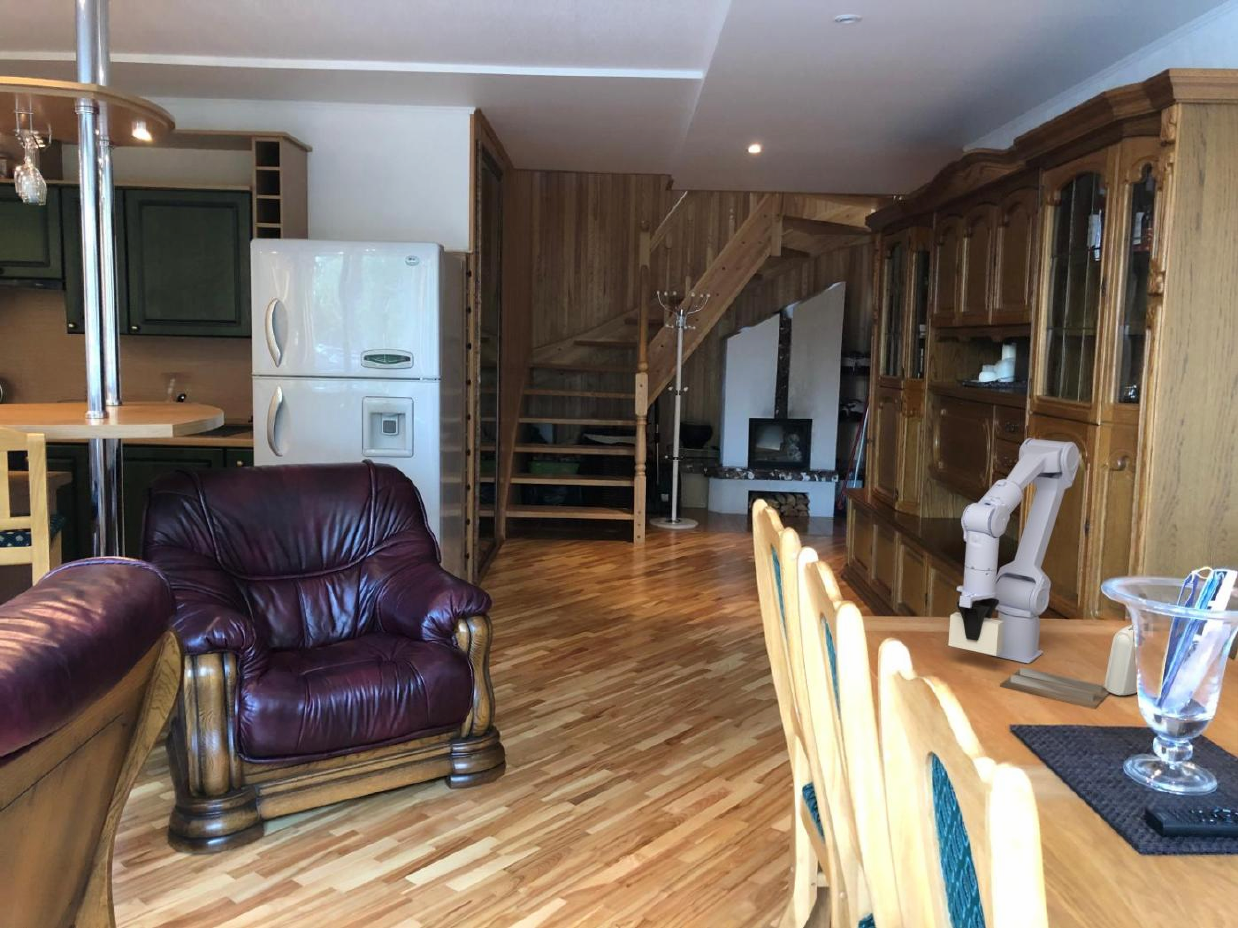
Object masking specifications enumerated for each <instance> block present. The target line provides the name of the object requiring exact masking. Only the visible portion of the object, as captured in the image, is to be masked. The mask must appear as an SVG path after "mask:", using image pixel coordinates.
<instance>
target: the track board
mask: <svg viewBox="0 0 1238 928" xmlns="http://www.w3.org/2000/svg"><path fill="white" fill-rule="evenodd" d="M999 687H1001V688H1005V689H1009V690H1012V691H1018V692H1022V693H1027V694H1030V695H1034V696H1038V697H1043V698H1048V699H1052V700H1056V701H1061V702H1064V703H1069V704H1072V705H1077V706H1081V707H1086V708H1089V709H1093V710H1095V709H1097V707H1098V706H1100V704H1101V703H1103V701H1104V700H1105V699H1106V698H1107V697H1108V696H1109V695H1110V694H1111V693H1110V692H1108V691H1107V690H1106V688H1105V687H1104V685H1103V684H1100V683H1095V682H1090V681H1086V680H1082V679H1076V678H1073V677H1069V676H1063V675H1058V674H1054V673H1049V672H1046V671H1041V670H1037V669H1032V668H1027V667H1020V669H1019V670H1017V671H1016V672H1015V673H1012V674H1011V675H1010V676H1009V677H1007V678H1006V679H1005V680H1004V681H1003V682H1000V684H999Z"/></svg>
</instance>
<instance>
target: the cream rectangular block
mask: <svg viewBox="0 0 1238 928" xmlns="http://www.w3.org/2000/svg"><path fill="white" fill-rule="evenodd" d="M1003 625H1004V621H1000V620H998V619H993V618H991V619H989V618H984V620H983V624H982V628H981V633H980V637H979V639H978V641H975V640H970V639H966V635H965V629H964V623H963V619H962V616H961V613H960V611H959V612H958V611H956V612H954V613H952V614H950V618H949V631H948V634H949V635H948V646H950V647H953V648H958V649H963V650H968V651H971V652H972V651H973V652H977V653H981V654H985V655H989V654H990V655H989V656H992V655H994V656H993V657H996V656H997V655H998V654H1000V653H1001V650H1002V638H1003Z"/></svg>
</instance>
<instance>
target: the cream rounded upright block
mask: <svg viewBox="0 0 1238 928" xmlns="http://www.w3.org/2000/svg"><path fill="white" fill-rule="evenodd" d="M1132 625H1133V624H1129V625H1126V626H1125V627H1122V628H1121V629H1120V630H1118V631H1117V632H1116V633H1115V635H1114V636H1113V638H1112V644H1111V648H1110V654H1109V657H1108V663H1107V669H1106V674H1105V680H1104V685H1103V687H1105V688H1106V690H1107V691H1108V692H1110V694H1114V695H1117V696H1127V695H1132V694H1136V673H1135V661H1134V642H1133V630H1132Z"/></svg>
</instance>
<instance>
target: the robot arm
mask: <svg viewBox="0 0 1238 928" xmlns="http://www.w3.org/2000/svg"><path fill="white" fill-rule="evenodd" d="M1018 451H1019V452H1018V461H1017V462H1016V464H1015V466H1014V467H1013V468H1012V470H1011V471H1010V473H1008V476H1007V477H1006V478H1003V479H998V480H996V481H995V482H994V484H993V485H992V486H991V487H990V488H989V490H988V491H987V492H986V493H985V494H984V495H983V497H981V499H980V500H979V501H978V502H973V503H971V504H969V505H967V506H966V507H965V509H964V510H963V514H962V517H961V520H960V521H961V522H960V523H961V528H962V531H963V541H964V542H966V544H965V554H964V555H965V557H964V572H963V585H958V586H957V587H956V591H957V592H961V595H960V596H959V600H958V601H956V607H957V609H958V611H959V613H961V616H962V619H963V623H964V629H965V635H966V639H970V640H975V641H978V639H979V637H980V633H981V628H982V624H983V620H984V618H989V619H992V616H993V614H994V612H995V610H996V611H998V613H997V614H998V616H997V620H1000V621H1004V625H1003V638H1002V650H1001V653H1000V654H998V655H997V656H994V655H990V654H988V656H992V657H996V658H997V657H998V658H1001V659H1006V660H1011V661H1014V662H1015V661H1016V662H1019V663H1024V664H1030V663H1032V662H1033V661H1034V660H1036V659H1038V657H1040V656H1041V655H1043V653H1044V651H1043V650H1041V649H1040V650H1039V645H1040V643H1039V642H1040V633H1041V632H1040V631H1041V619H1040V618H1039V616H1040V615H1042V614H1043V613H1044V612H1045V611H1046V609H1048V605H1049V601H1050V589H1051V585H1052V582H1051V580H1050V578H1049V576H1048V575H1046V572H1045V571H1043V569H1042V568H1041V567H1042V565H1043V562H1044V559H1045V556H1046V553H1047V548H1048V545H1049V543H1050V539H1051V536H1052V534H1053V530H1054V527H1055V523H1056V520H1057V517H1058V513H1059V510H1060V507H1061V504H1062V500H1063V497H1064V494H1065V490H1066V489H1069V488H1071V487H1072V486H1073V484H1074V480H1075V478H1076V476H1077V471H1078V467H1079V465H1080V462H1081V461H1080V451H1079V448H1078V447H1077V445H1076V443H1075V442H1074V441H1067V442H1066V441H1057V440H1047V439H1046V440H1045V439H1036V438H1033V437H1032V438H1031V437H1028V438H1026V439H1025V440H1024V442H1022V444H1021V446H1020V448H1019V450H1018ZM1030 483H1031V484H1032V485H1034V486H1035V488H1036V490H1035V494H1034V497H1033V501H1032V502H1031V503H1032V504H1031V506H1030V510H1029V513H1028V516H1027V519H1026V522H1025V525H1024V529H1023V532H1022V536H1021V537H1020V538H1021V539H1020V541H1019V545H1018V547H1017V551H1016V554H1015V557H1014V560H1013V561H1011V562H1010V563H1006V564H1004V565H1002V566H1001V567H999V570H998V559H999V546H1000V537H1001V536H1002V535H1004V533H1005V532H1006V529H1007V527H1008V526H1007V525H1008V523H1009V521H1010V518H1011V517H1010V515H1011V514H1012V512H1013V511H1014V510H1015V509H1016V508H1017V506H1018V505H1019V504H1020V503H1021V502H1022V500H1023V498H1024V497H1023V490H1024V489H1025V488H1026V487H1027V486H1028V485H1029V484H1030ZM997 571H998V572H997Z"/></svg>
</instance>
